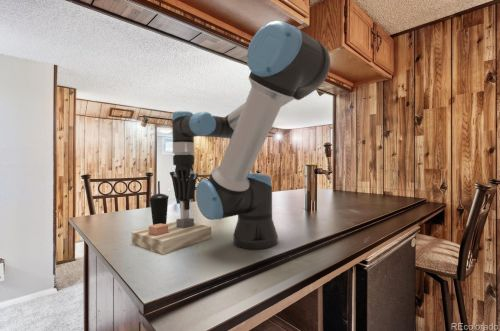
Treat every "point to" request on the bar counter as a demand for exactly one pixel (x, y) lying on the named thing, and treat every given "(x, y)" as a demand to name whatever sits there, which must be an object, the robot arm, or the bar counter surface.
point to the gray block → (185, 222)
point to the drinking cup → (159, 207)
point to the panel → (171, 238)
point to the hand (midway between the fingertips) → (184, 218)
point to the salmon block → (158, 229)
